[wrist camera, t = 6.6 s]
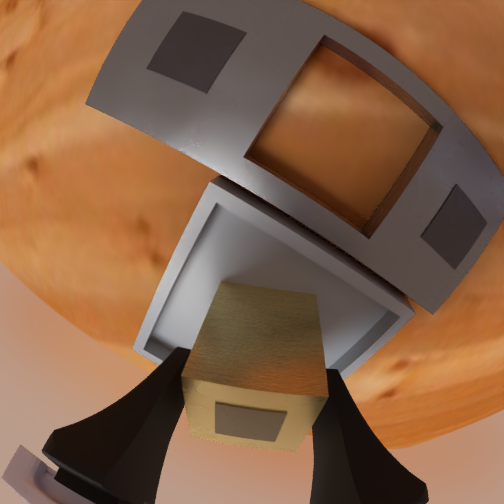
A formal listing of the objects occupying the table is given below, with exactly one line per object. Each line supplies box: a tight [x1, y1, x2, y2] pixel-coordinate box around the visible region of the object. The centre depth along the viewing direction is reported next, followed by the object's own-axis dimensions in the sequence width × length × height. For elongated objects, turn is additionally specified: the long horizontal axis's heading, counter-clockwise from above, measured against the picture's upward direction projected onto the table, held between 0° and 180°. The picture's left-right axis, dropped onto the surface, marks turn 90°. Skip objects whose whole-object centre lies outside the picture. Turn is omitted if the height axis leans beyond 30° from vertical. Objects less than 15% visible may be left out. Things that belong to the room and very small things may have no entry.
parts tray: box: [133, 176, 415, 380], centre depth 14 cm, size 11×11×2 cm
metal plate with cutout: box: [85, 0, 504, 315], centre depth 9 cm, size 20×8×1 cm, turn 60°
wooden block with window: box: [181, 281, 329, 452], centre depth 11 cm, size 5×5×6 cm
